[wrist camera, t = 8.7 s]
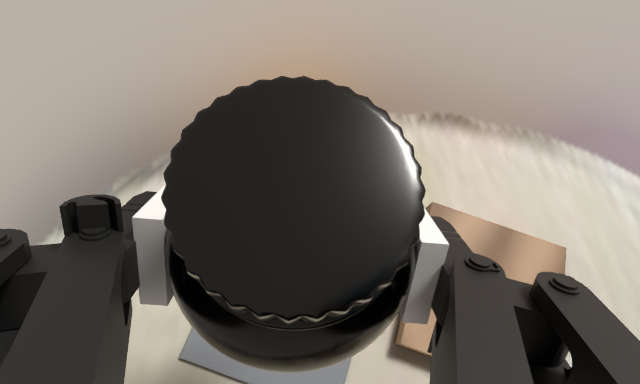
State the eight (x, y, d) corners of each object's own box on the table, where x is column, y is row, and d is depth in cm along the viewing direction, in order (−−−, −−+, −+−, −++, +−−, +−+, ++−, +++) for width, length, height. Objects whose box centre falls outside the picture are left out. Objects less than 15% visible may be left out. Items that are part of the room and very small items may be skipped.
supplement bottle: (247, 197, 19) (199, -6, 8) (374, 235, 19) (503, 83, 8) (193, 333, 16) (4, 312, 5) (340, 379, 16) (465, 459, 5)
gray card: (377, 258, 31) (378, 258, 31) (335, 415, 26) (335, 415, 26) (245, 212, 31) (244, 210, 31) (179, 357, 27) (179, 357, 26)
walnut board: (554, 252, 33) (566, 248, 31) (544, 397, 28) (557, 400, 26) (426, 207, 33) (432, 202, 32) (394, 343, 28) (400, 343, 27)
